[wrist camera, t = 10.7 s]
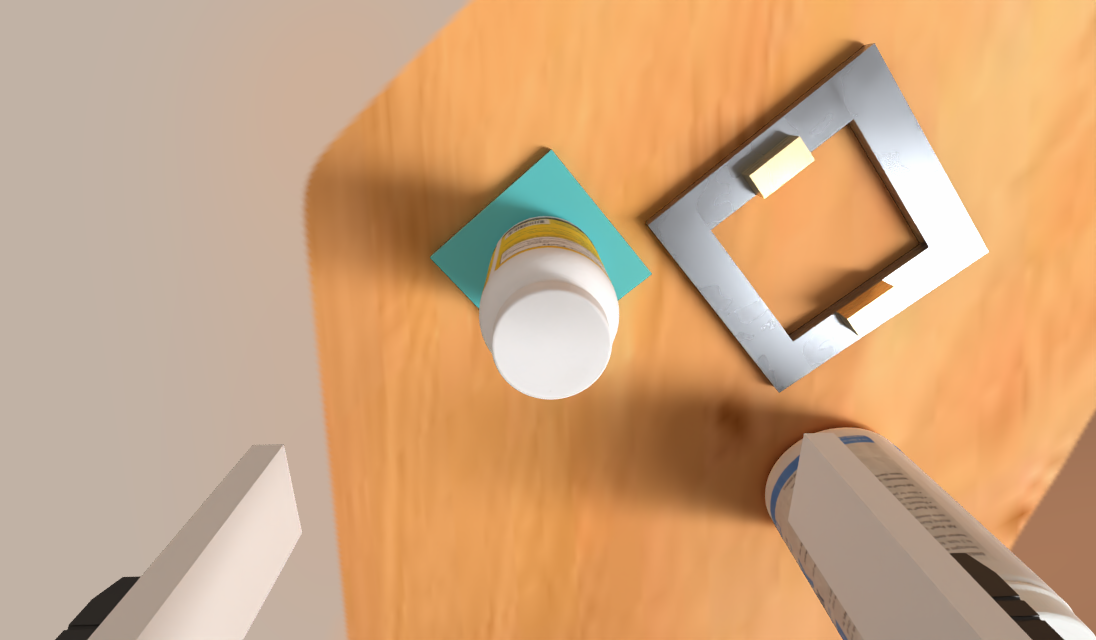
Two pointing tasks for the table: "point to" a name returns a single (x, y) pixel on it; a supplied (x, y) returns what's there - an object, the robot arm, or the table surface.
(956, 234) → the socket plate
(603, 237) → the coaster
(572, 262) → the pill bottle
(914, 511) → the supplement tub
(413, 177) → the table surface
